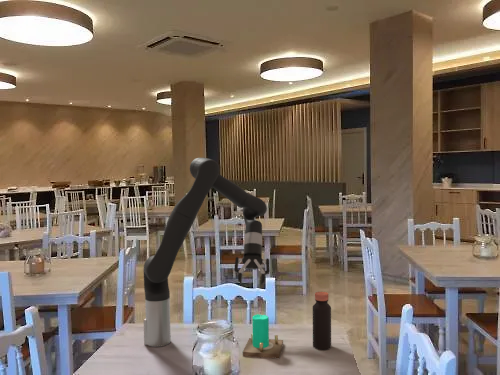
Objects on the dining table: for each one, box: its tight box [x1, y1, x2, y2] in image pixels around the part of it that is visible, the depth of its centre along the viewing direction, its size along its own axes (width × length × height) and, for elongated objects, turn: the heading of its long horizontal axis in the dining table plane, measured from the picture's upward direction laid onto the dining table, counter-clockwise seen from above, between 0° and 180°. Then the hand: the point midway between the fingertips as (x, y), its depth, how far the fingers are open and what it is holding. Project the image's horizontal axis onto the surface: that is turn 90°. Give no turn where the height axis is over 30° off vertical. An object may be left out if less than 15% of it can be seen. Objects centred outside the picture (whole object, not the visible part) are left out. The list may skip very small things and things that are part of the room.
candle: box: [251, 312, 270, 348], centre depth 164 cm, size 6×6×12 cm
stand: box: [242, 337, 284, 359], centre depth 165 cm, size 13×13×2 cm
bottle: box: [312, 291, 332, 351], centre depth 166 cm, size 7×7×20 cm
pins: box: [250, 333, 279, 352], centre depth 163 cm, size 10×9×3 cm
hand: (251, 283), depth 180 cm, fingers open, 8 cm apart
